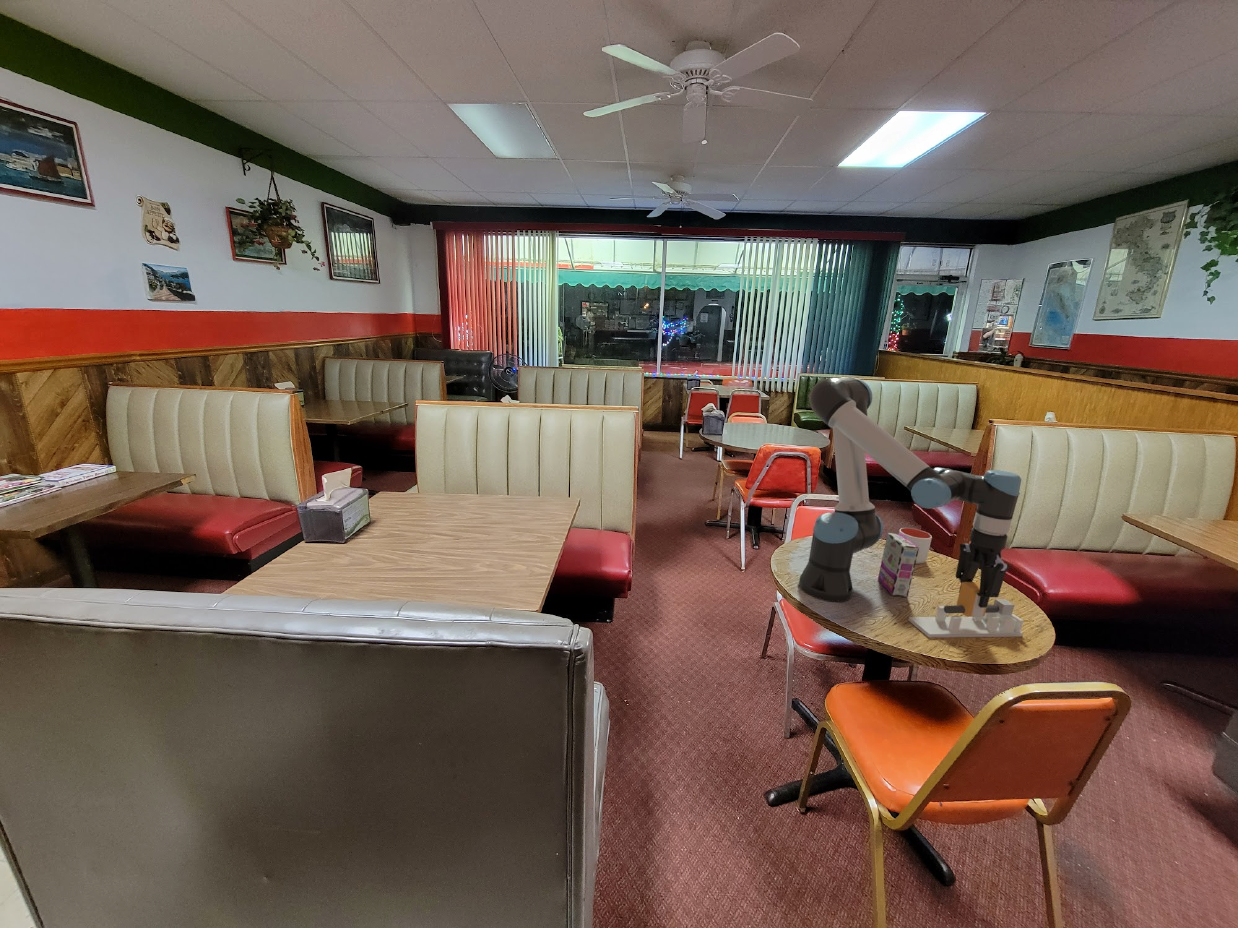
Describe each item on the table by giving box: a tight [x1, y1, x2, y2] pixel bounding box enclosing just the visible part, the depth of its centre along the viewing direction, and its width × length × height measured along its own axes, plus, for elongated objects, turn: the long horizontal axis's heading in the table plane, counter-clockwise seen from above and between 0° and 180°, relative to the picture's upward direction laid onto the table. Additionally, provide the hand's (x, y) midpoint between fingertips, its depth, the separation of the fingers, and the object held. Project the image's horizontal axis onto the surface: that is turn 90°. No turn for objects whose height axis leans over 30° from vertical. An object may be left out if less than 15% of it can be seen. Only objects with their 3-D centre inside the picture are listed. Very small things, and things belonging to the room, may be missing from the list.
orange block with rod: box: [943, 581, 1015, 617], centre depth 131 cm, size 18×4×8 cm, turn 95°
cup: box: [898, 527, 933, 565], centre depth 175 cm, size 10×10×10 cm
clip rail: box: [908, 605, 1024, 639], centre depth 132 cm, size 27×8×5 cm, turn 95°
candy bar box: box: [877, 532, 919, 598], centre depth 151 cm, size 11×5×16 cm, turn 174°
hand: (969, 611), depth 131 cm, fingers closed on orange block with rod, 4 cm apart
